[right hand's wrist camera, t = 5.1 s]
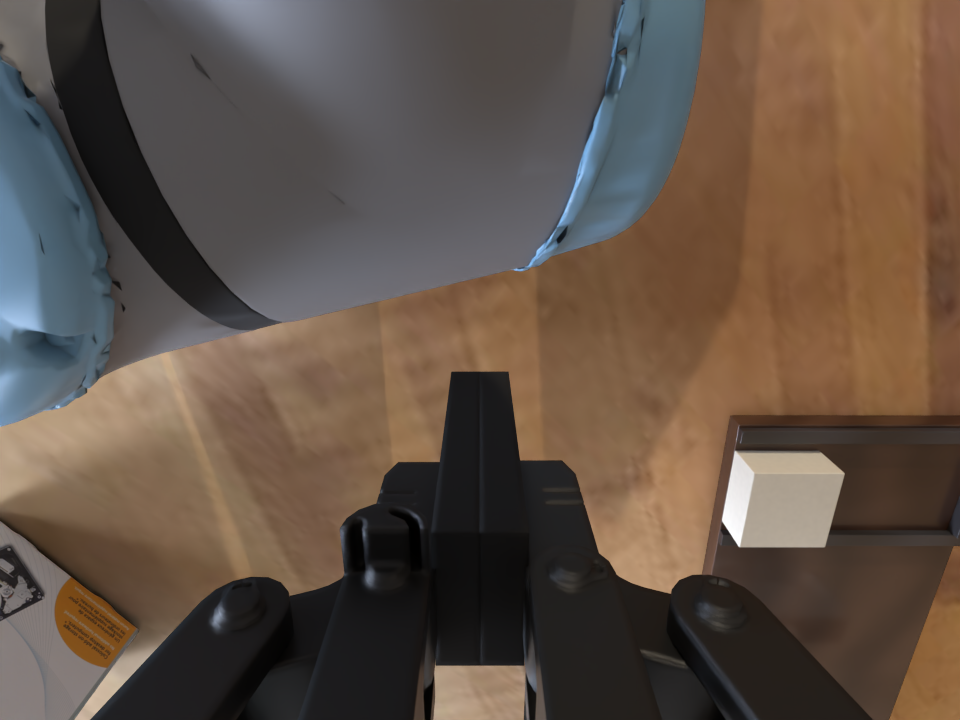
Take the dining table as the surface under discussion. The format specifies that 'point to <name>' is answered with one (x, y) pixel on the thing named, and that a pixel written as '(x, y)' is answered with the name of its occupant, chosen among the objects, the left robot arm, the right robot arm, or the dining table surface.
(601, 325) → the dining table surface
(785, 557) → the slider board
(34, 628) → the hard drive box
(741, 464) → the slider
